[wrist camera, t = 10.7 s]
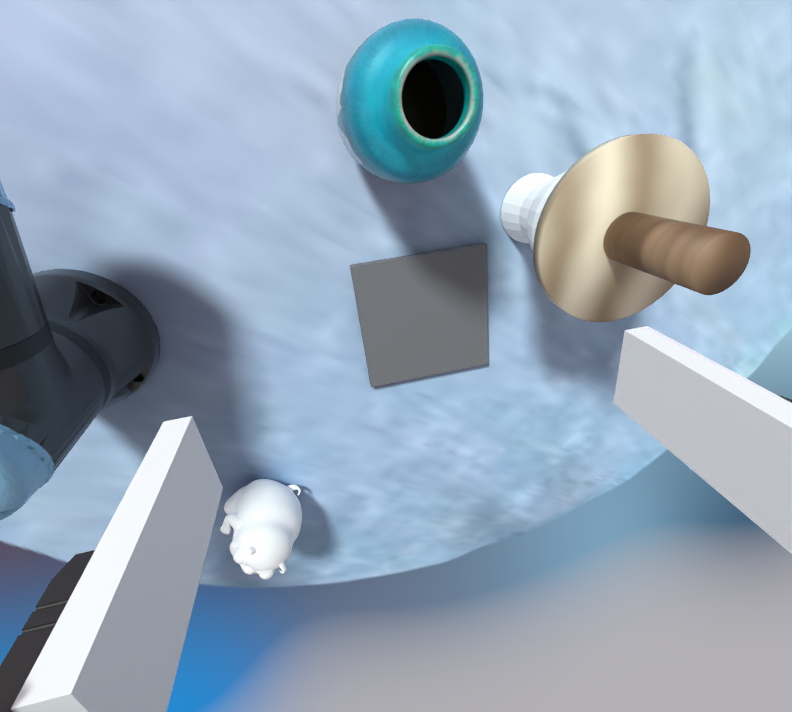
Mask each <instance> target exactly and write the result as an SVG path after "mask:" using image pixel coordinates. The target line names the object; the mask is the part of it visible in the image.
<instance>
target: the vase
mask: <svg viewBox="0 0 792 712" xmlns="http://www.w3.org/2000/svg"><path fill="white" fill-rule="evenodd" d="M482 110H483V89H482V81H481V77H480V73H479V70H478V67H477V65H476V62H475V60H474V58H473V56H472V54H471V52H470V51H469V49H468V48H467V46H466V45H465V44H464V43H463V41H462V40H461V39H460V38H459V37H458V36H457V35H455V34H454V33H453V32H452V31H451V30H449V29H447V28H446V27H444V26H442V25H440V24H438V23H435V22H432V21H429V20H423V19H406V20H402V21H398V22H394V23H391V24H389V25H387V26H385V27H383V28H381V29H379V30H378V31H377V32H375V33H374V34H372V35H371V36H370V37H369V38H367V39H366V41H365V42H364V43H363V44H362V45H361V46H360V47H359V48H358V49H357V51H356V52H355V54H354V55H353V56H352V58H351V59H350V61H349V63H348V65H347V67H346V69H345V71H344V73H343V75H342V78H341V81H340V84H339V88H338V93H337V100H336V116H337V124H338V128H339V132H340V135H341V138H342V140H343V142H344V145H345V146H346V148H347V150H348V151H349V153H350V154H351V156H352V157H353V158H354V159H355V161H356V162H357V163H359V164H360V165H361V166H362V167H363V168H364V169H365V170H367V171H369V172H370V173H372V174H373V175H375V176H378V177H380V178H382V179H385V180H388V181H393V182H397V183H408V184H409V183H420V182H424V181H428V180H431V179H434V178H436V177H438V176H440V175H442V174H444V173H446V172H447V171H449V170H450V169H452V168H453V167H454V166H455V165H456V164H457V163H458V162H459V161H460V160H461V159H462V158H463V156H464V155H465V154H466V153H467V151H468V150H469V148H470V146H471V145H472V143H473V141H474V139H475V137H476V134H477V132H478V129H479V125H480V122H481V117H482Z"/></svg>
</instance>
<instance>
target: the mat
mask: <svg viewBox="0 0 792 712" xmlns="http://www.w3.org/2000/svg"><path fill="white" fill-rule="evenodd" d="M350 268H351V274H352V280H353V286H354V292H355V297H356V303H357V309H358V315H359V321H360V326H361V332H362V338H363V344H364V350H365V355H366V361H367V367H368V373H369V379H370V384H371V387H375V386H380V385H385V384H390V383H395V382H400V381H405V380H410V379H415V378H420V377H425V376H430V375H435V374H440V373H445V372H450V371H455V370H460V369H465V368H471V367H476V366H481V365H486V364H488V307H487V245H486V244H484V243H480V244H474V245H468V246H462V247H456V248H450V249H444V250H438V251H432V252H426V253H420V254H414V255H408V256H402V257H396V258H390V259H384V260H378V261H372V262H366V263H360V264H354V265H350Z"/></svg>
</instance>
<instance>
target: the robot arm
mask: <svg viewBox="0 0 792 712" xmlns="http://www.w3.org/2000/svg"><path fill="white" fill-rule="evenodd" d="M12 212H15V207H14V205H13V203H12V202H11V201H10V200H8V199H7V196H6V194H5V191H4V189H3V186H2V183H1V181H0V520H2V519H4V518H6V517H8V516H10V515H11V514H13V513H14V512H15V511H17V510H18V509H19V508H21V507H22V506H23V505H24V504H25V503H26V501H27V500H28V499H29V498H30V497H31V496H32V495H33V494H34V493H35V492H36V490H37V489H38V488H40V487H42V486H43V485H44V484H45V483H47V482H48V481H49V480H50V478H51V477H52V475H53V473H54V471H55V470H56V468H57V467H58V466H59V464H60V463H61V462H62V461H63V459H64V458H65V457H66V455H67V454H68V453H69V451H70V450H71V449H72V447H73V446H74V445H75V443H76V442H77V441H78V439H79V438H80V437H81V435H82V434H83V433H84V432H85V430H86V429H87V428H88V426H89V425H90V424H91V422H92V421H93V420H94V418H95V417H96V416H97V414H98V413H99V412H100V410H102V409H104V408H106V407H108V406H110V405H112V404H114V403H116V402H118V401H120V400H122V399H124V398H126V397H128V396H129V395H131V394H133V393H134V392H135V391H136V390H138V389H139V388H140V387H141V386H142V385H143V384H144V383H145V381H146V380H147V379H148V377H149V376H150V374H151V373H152V372H153V370H154V368H155V366H156V364H157V361H158V358H159V353H160V340H159V335H158V331H157V328H156V325H155V323H154V321H153V319H152V318H151V316H150V314H149V313H148V311H147V310H146V309H145V307H144V306H143V305H142V304H141V303H140V302H139V301H138V300H137V299H136V298H135V297H134V296H133V295H132V294H130V293H129V292H128V291H127V290H125V289H124V288H122V287H121V286H119V285H117V284H116V283H114V282H112V281H110V280H108V279H105V278H103V277H100V276H98V275H95V274H92V273H88V272H83V271H78V270H69V269H54V270H47V271H42V272H38V273H35V274H32V271H31V268H30V265H29V262H28V259H27V256H26V253H25V250H24V247H23V244H22V241H21V238H20V235H19V232H18V229H17V226H16V223H15V220H14V217H13V214H12ZM613 403H614V404H615V405H616V406H617V407H619V408H620V409H621V410H622V411H623V412H625V413H626V414H627V415H628V416H629V417H630V418H632V419H633V420H634V421H635V422H636V423H638V424H639V425H640V426H641V427H642V428H643V429H645V430H646V431H647V432H648V433H649V434H651V435H652V436H653V437H654V438H655V439H656V440H658V441H659V442H660V443H661V444H662V445H664V446H665V447H666V448H667V449H668V450H670V451H671V452H672V453H673V454H674V455H676V456H677V457H678V458H679V459H680V460H681V461H683V462H684V463H685V464H686V465H687V466H688V467H690V468H691V469H692V470H693V471H694V472H696V473H697V474H698V475H699V476H700V477H701V478H703V479H704V480H705V481H706V482H707V483H709V484H710V485H711V486H712V487H713V488H714V489H716V490H717V491H718V492H719V493H720V494H722V495H723V496H724V497H725V498H726V499H727V500H729V501H730V502H731V503H732V504H733V505H735V506H736V507H737V508H738V509H739V510H740V511H742V512H743V513H744V514H745V515H746V516H748V517H749V518H750V519H751V520H752V521H753V522H755V523H756V524H757V525H758V526H759V527H761V528H762V529H763V530H764V531H765V532H766V533H768V534H769V535H770V536H771V537H772V538H774V539H775V540H776V541H777V542H778V543H779V544H781V545H782V546H783V547H784V548H785V549H787V550H788V551H789V552H790V553H791V554H792V400H791V399H788V398H785V397H782V396H779V395H776V394H774V393H772V392H770V391H768V390H766V389H764V388H763V387H761V386H759V385H757V384H755V383H753V382H751V381H749V380H748V379H746V378H744V377H742V376H740V375H738V374H736V373H734V372H733V371H731V370H729V369H727V368H725V367H723V366H721V365H719V364H718V363H716V362H714V361H712V360H710V359H708V358H706V357H704V356H703V355H701V354H699V353H697V352H695V351H693V350H691V349H689V348H688V347H686V346H684V345H682V344H680V343H678V342H676V341H674V340H672V339H671V338H669V337H667V336H665V335H663V334H661V333H659V332H657V331H656V330H654V329H652V328H650V327H648V326H644V327H639V328H634V329H629V330H625V332H624V338H623V344H622V351H621V357H620V363H619V370H618V376H617V382H616V388H615V395H614V401H613ZM222 491H223V486H222V484H221V482H220V479H219V477H218V475H217V472H216V470H215V468H214V466H213V463H212V461H211V459H210V456H209V454H208V452H207V449H206V447H205V445H204V442H203V440H202V438H201V435H200V433H199V431H198V428H197V426H196V424H195V422H194V419H193V417H192V416H190V417H184V418H179V419H174V420H169V421H164V422H163V424H162V425H161V427H160V429H159V431H158V433H157V435H156V437H155V439H154V440H153V442H152V444H151V446H150V448H149V450H148V452H147V454H146V456H145V457H144V459H143V461H142V463H141V465H140V467H139V469H138V471H137V472H136V474H135V476H134V478H133V480H132V482H131V484H130V486H129V488H128V489H127V491H126V493H125V495H124V497H123V499H122V501H121V503H120V504H119V506H118V508H117V510H116V512H115V514H114V516H113V518H112V520H111V521H110V523H109V525H108V527H107V529H106V531H105V533H104V535H103V536H102V538H101V540H100V542H99V544H98V546H97V548H96V550H94V551H89V552H85V553H81V554H76V555H75V556H74V557H73V558H72V559H71V560H70V561H69V562H68V563H67V564H66V565H65V566H64V567H63V568H62V570H61V571H60V572H59V573H58V574H57V575H56V576H55V577H54V578H53V579H52V580H51V582H50V584H49V585H48V587H47V589H46V590H45V592H44V594H43V595H42V597H41V599H40V601H39V602H38V604H37V606H36V611H35V612H32V614H31V615H30V617H29V619H28V621H27V622H26V624H25V626H24V627H23V629H22V631H23V633H22V635H20V636H18V637H17V639H16V641H15V642H14V644H13V646H12V648H11V649H10V651H9V653H8V654H7V656H6V658H5V659H4V661H3V662H2V664H1V666H0V712H166V711H167V707H168V703H169V699H170V695H171V692H172V688H173V683H174V680H175V676H176V672H177V668H178V664H179V660H180V656H181V652H182V648H183V644H184V640H185V636H186V632H187V628H188V624H189V620H190V617H191V613H192V609H193V605H194V601H195V597H196V593H197V589H198V585H199V581H200V577H201V573H202V569H203V565H204V562H205V558H206V554H207V550H208V546H209V542H210V538H211V534H212V530H213V526H214V522H215V518H216V514H217V510H218V506H219V502H220V498H221V494H222Z"/></svg>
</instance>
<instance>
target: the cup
mask: <svg viewBox="0 0 792 712" xmlns="http://www.w3.org/2000/svg"><path fill="white" fill-rule="evenodd" d="M566 172H567V171H566ZM566 172H564V173H562V174H560V175H558V176H556V177H555V178H554V177H552V176H550V175H547V174H544V173H533V174H528V175H526V176H524V177H522V178H520V179H519V180H518V181H517V182H515V183H514V184H513V185H512V187H511V188H510V189H509V191H508V192H507V194H506V196H505V198H504V201H503V204H502V209H501V220H502V224H503V227H504V229H505V231H506V232H507V234H508V235H509V236H510V237H511V238H513V239H514V240H516V241H519V242H522V243H527V244H530V247H531V249H532V250H533V245H534V236H535V232H536V227H537V223H538V220H539V217H540V214H541V211H542V209H543V207H544V205H545V203H546V200H547V198H548V197H549V195H550V193H551V192H552V190H553V188H554V187H555V185H556V184H557V183H558V181H559V180H560V179H561V177H562V176H563V175H564V174H565V173H566Z"/></svg>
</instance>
